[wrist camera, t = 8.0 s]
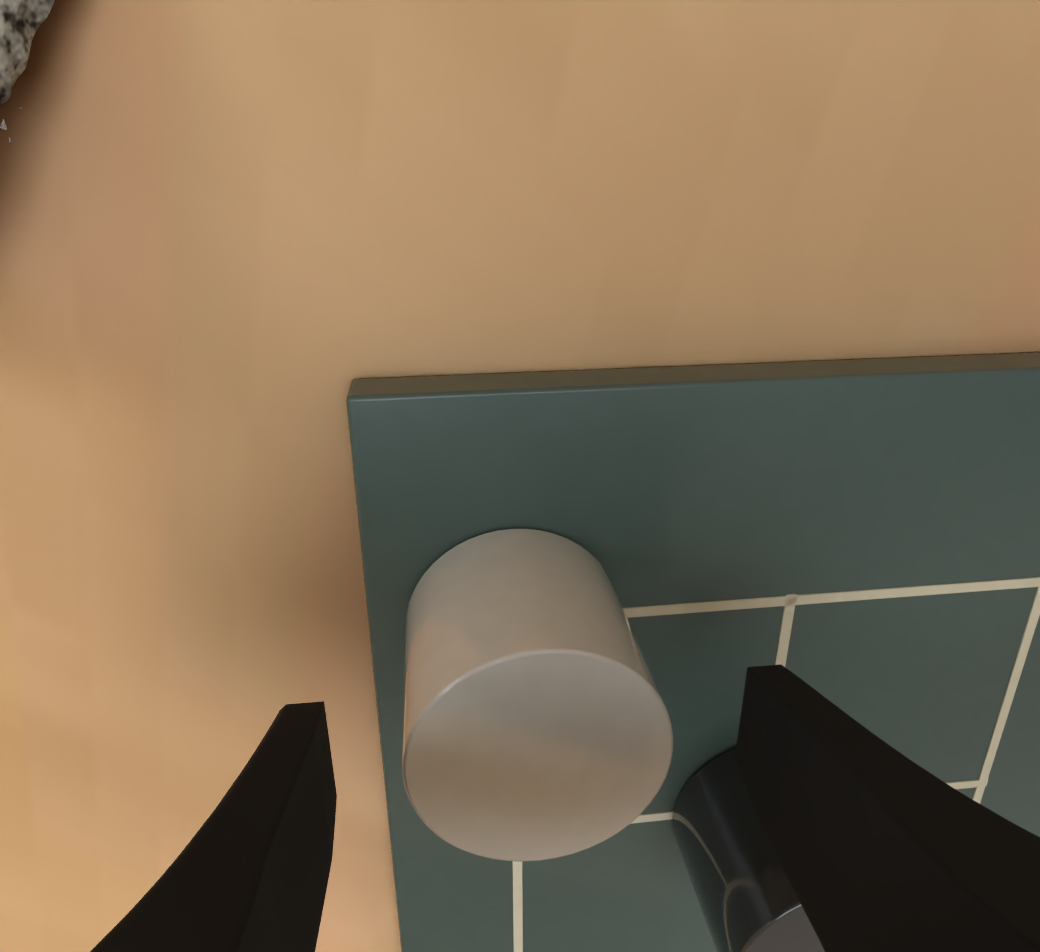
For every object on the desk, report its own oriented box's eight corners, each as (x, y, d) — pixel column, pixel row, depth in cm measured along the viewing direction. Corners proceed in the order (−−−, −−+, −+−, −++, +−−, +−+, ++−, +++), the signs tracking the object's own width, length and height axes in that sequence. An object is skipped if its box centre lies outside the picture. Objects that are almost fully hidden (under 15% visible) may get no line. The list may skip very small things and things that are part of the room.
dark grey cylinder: (856, 729, 18) (964, 874, 15) (828, 860, 20) (918, 1019, 17) (678, 746, 18) (745, 901, 14) (665, 879, 20) (721, 1046, 16)
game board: (1192, 344, 17) (1249, 359, 16) (962, 995, 26) (988, 1036, 24) (350, 377, 15) (345, 398, 14) (417, 1070, 24) (417, 1118, 22)
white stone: (622, 520, 15) (685, 639, 12) (612, 697, 17) (664, 848, 13) (398, 534, 15) (392, 663, 11) (412, 714, 17) (411, 876, 13)
